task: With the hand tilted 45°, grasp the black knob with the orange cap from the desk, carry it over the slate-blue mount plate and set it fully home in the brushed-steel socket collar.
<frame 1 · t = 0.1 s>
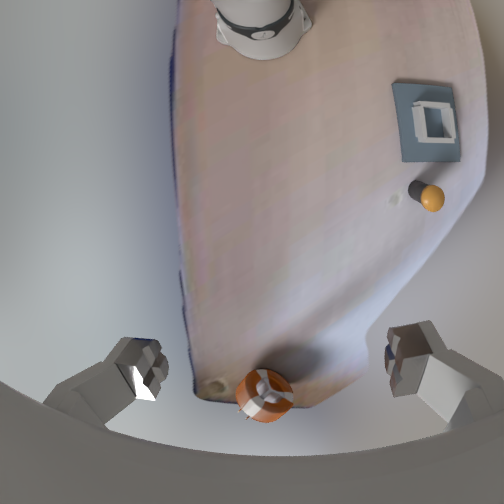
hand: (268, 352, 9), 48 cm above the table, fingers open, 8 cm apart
knob: (416, 190, 50), on the table
mount: (427, 122, 44), on the table
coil: (268, 376, 75), on the table
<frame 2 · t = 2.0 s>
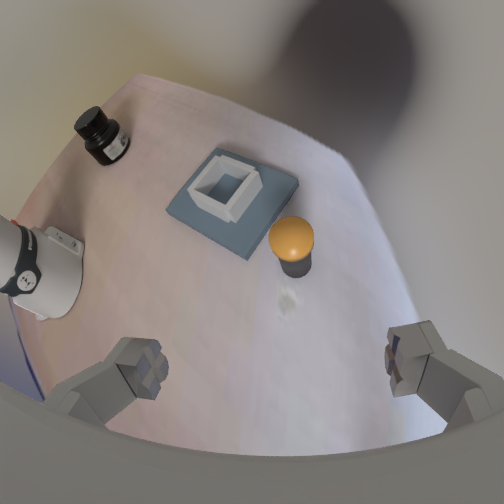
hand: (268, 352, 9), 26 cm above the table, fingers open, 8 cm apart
knob: (296, 263, 37), on the table
mount: (231, 199, 43), on the table
ink bottle: (115, 151, 56), on the table
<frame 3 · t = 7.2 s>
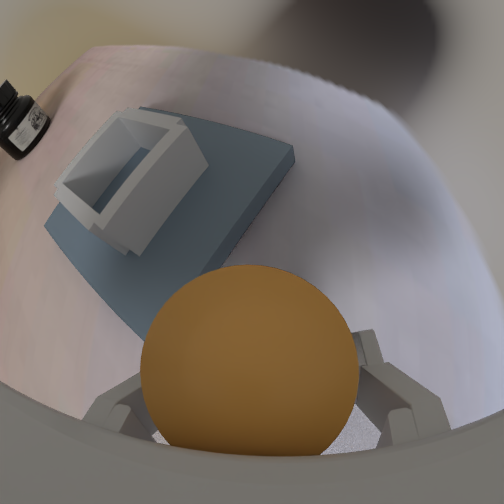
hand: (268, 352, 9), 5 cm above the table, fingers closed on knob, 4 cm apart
knob: (284, 368, 13), on the table, touching gripper
mount: (147, 199, 19), on the table
ink bottle: (33, 140, 32), on the table
when the fingers open (8 cm above the table, at t = 13.8 s): knob stays where it is, resting on mount.
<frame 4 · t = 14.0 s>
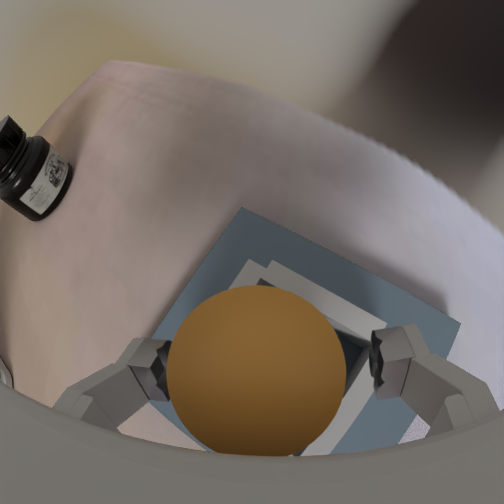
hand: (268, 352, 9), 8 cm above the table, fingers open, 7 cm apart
knob: (289, 369, 14), point 2 cm above the table, touching mount
mount: (290, 367, 16), on the table
ink bottle: (51, 193, 29), on the table
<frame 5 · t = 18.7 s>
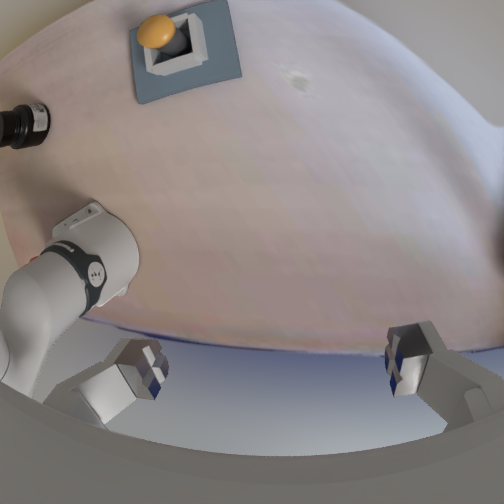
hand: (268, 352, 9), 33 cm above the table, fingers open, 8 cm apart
knob: (180, 47, 32), point 2 cm above the table, touching mount
mount: (182, 50, 33), on the table
ink bottle: (39, 124, 40), on the table
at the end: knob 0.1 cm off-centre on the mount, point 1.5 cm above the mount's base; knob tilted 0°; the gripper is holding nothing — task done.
